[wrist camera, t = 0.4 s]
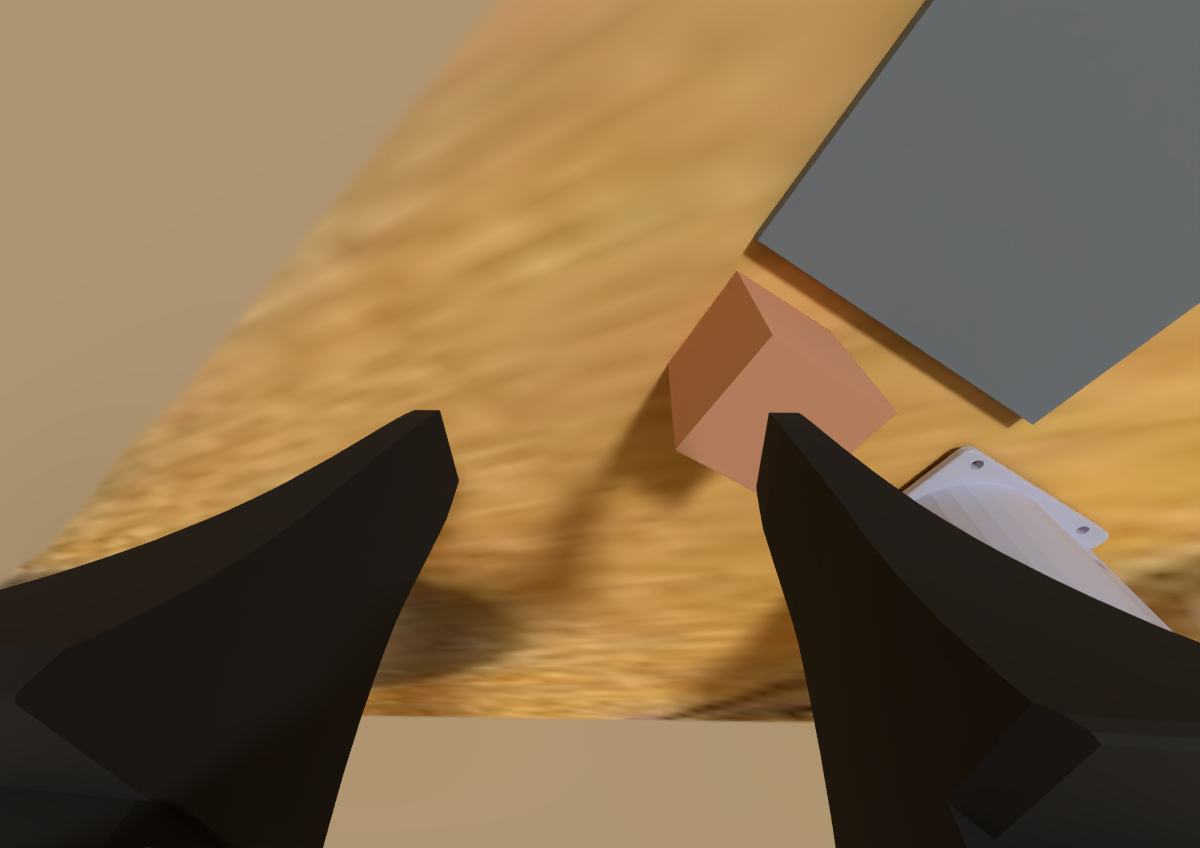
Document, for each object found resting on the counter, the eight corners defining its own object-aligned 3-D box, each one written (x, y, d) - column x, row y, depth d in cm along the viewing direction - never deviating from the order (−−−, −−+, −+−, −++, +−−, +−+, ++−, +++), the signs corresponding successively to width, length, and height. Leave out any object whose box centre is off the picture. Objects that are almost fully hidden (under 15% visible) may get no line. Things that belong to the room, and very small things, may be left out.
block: (830, 330, 19) (897, 412, 14) (753, 413, 21) (787, 509, 16) (736, 270, 18) (772, 334, 13) (667, 364, 20) (674, 449, 15)
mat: (1526, 40, 13) (1562, 37, 12) (1022, 416, 20) (1032, 424, 19) (1213, -395, 10) (1244, -423, 9) (754, 236, 17) (757, 240, 16)
